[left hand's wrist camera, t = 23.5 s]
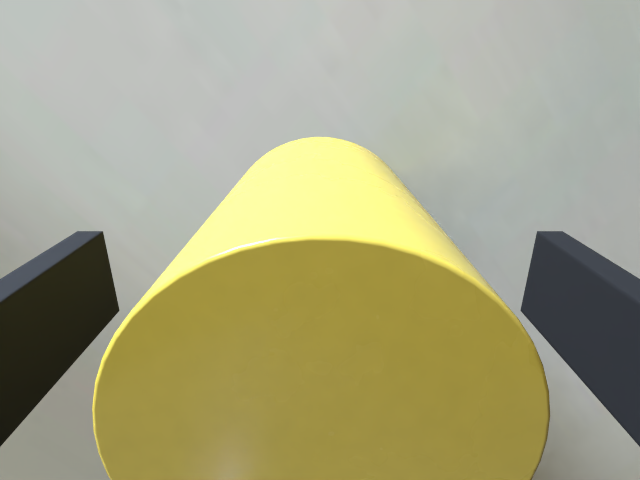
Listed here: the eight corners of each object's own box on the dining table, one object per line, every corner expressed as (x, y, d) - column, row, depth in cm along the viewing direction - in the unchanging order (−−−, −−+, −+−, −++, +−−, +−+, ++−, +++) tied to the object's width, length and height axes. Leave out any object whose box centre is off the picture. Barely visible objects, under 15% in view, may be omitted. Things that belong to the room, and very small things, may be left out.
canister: (435, 268, 17) (594, 522, 7) (280, 331, 18) (233, 625, 8) (369, 102, 15) (472, 140, 5) (195, 185, 16) (-12, 355, 6)
